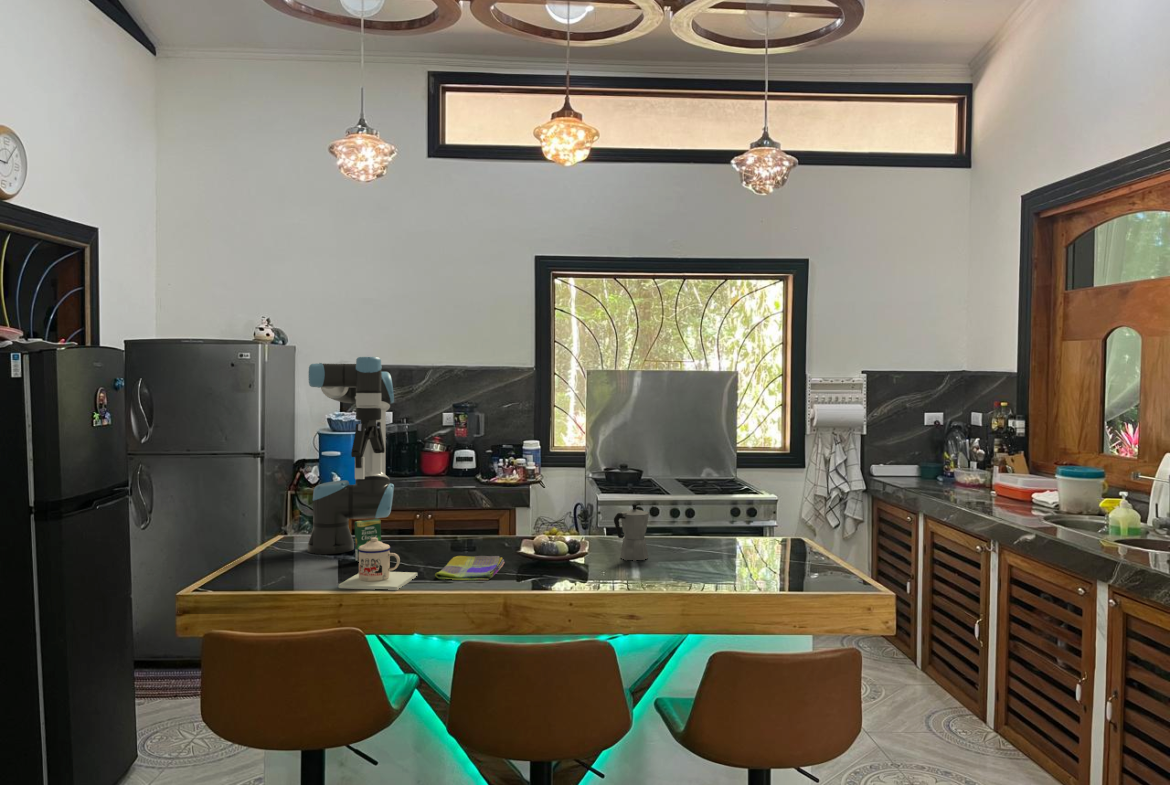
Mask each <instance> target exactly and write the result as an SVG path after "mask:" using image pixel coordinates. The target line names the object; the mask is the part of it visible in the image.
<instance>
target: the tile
mask: <svg viewBox="0 0 1170 785" xmlns="http://www.w3.org/2000/svg"><path fill="white" fill-rule="evenodd" d="M416 576H417V577H418V572H408V571H405V572H403V571H390V576H389V578H388V579H385V580H381V581H362V580H360V579H359V572H358V573H357V574H355V575H353V576H351V577H349V578H347V579H346V580H345V581H343V582H340V583H339V584H338V589H352V590H353V589H354V590H375V589H388V590H387V591H398V590H400V589H401V588H403V587H404V586H406V585H407V584H408V583H410V582H412V579H413V580H414V579H415V578H417V577H416ZM402 586H403V587H402ZM399 588H400V589H399Z"/></svg>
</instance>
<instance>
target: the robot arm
mask: <svg viewBox="0 0 1170 785" xmlns="http://www.w3.org/2000/svg"><path fill="white" fill-rule="evenodd" d="M382 367H383V366H382V358H380V357H378V356H358V357H357V358H356V360H355V363H322V362H319V363H311V364H310V365H309V367H308V385H309V386H310V387H311V388H320V390H321V392H322V394H323V395H325V397H327V398H329V399H331V400H334V401H337V402H340V403H345V404H355V406H356V408H355V420H357V421H360V423H356V424H355V432H354V438H353V443H352V446H351V453H350V455H351V456H350V457H351V458H354V479H355V484H350V482H349V480H336V481H335V480H334V481H328V482H323V483H320V484H317V485H316V486H315V487H314V488H313V494H312V502H313V504H312V508H313V509H312V522H313V523H312V531H311V533H310V537H309V540H308V543H307V553H310V554H314V553H315V554H316V555H334V554H344V553H348V552H351V551H353V550H354V549H355V541H354V539H353V536H352V534H351V530H350V528H349V520H352V519H354V520H357V519H381V518H387V517H389V516H391V515H390V514H391V512H392V506H393V500H394V499H393V498H394V491H395V490H394V489H395V485H394V484H393V483H391V480H390V477H389V476H387V475H386V448H387V447H386V442H387V441H386V436H387V435H386V432H387V431H386V429H387V428H386V423H387V421H386V420H387V418H386V414H387V413H386V412H387V411H389V410H390V408H391V404H394V403H395V394H394V387H393V386H394V384H393V380H392V376H391V373H389V372H388V371H382Z"/></svg>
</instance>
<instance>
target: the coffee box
mask: <svg viewBox="0 0 1170 785" xmlns="http://www.w3.org/2000/svg"><path fill="white" fill-rule="evenodd" d="M381 522H382V521H381V519H380V518H377V519H375V518H372V519H368V520H357V521H354V549H355V550H354V551H355V552H354V553H355V555H354V557H355V560H354V561H355V562H356V561H357V562H356V563H358V562H359V551H358V548H359V547H360V546H361V545H364V544H366V543H367V542H369V541H371V538H374V537H376V538H378V541H381V542H382V527H381V525H382V524H381Z"/></svg>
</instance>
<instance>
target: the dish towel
mask: <svg viewBox="0 0 1170 785" xmlns="http://www.w3.org/2000/svg"><path fill="white" fill-rule="evenodd" d="M504 564H505V559H503V557H500V556H499V555H494V556H493V555H491V556H487V555H478V556H477V555H476V556H475V555H474V556H468V555H457V556H453V557H452V558H451V559H450V560H449V561H448V562H447V564H445V565H444V567H443V568H442V569H441V570H439V571H438V572H436V573H434V576H435V578H437V579H439V580H445V579H452V580H451V581H482V582H483V581H484V582H487V581H489V580H490V579H492V578H493V577H494V576H495V575H496V574H497V573H498V572H499V571H500V570H501V568H502V567H504Z"/></svg>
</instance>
